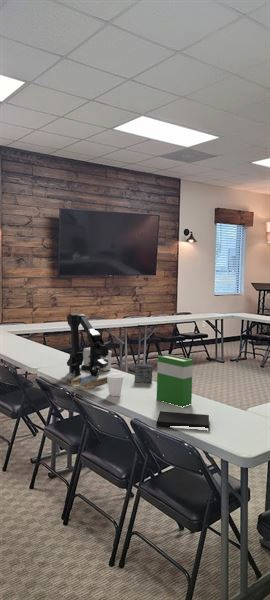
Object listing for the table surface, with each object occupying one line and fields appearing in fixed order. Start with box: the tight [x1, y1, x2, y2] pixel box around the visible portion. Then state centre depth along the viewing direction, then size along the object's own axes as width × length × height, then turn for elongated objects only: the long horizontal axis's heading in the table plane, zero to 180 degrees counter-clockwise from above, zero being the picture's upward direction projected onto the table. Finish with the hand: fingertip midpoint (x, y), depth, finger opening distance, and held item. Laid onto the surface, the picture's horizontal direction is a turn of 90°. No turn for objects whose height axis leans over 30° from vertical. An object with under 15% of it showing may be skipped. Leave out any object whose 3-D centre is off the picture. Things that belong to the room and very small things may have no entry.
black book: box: [156, 410, 210, 429], centre depth 205 cm, size 14×23×3 cm, turn 81°
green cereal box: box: [156, 353, 194, 407], centre depth 235 cm, size 18×7×24 cm, turn 45°
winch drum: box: [65, 371, 76, 384], centre depth 270 cm, size 6×4×8 cm
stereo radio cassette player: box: [82, 340, 113, 372], centre depth 307 cm, size 21×8×20 cm, turn 49°
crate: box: [80, 374, 98, 386], centre depth 267 cm, size 7×7×5 cm
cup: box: [105, 372, 125, 397], centre depth 246 cm, size 10×10×11 cm
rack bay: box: [69, 372, 108, 390], centre depth 270 cm, size 13×25×3 cm, turn 146°
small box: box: [133, 363, 153, 384], centre depth 275 cm, size 11×6×10 cm, turn 84°
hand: (94, 379), depth 272 cm, fingers closed
